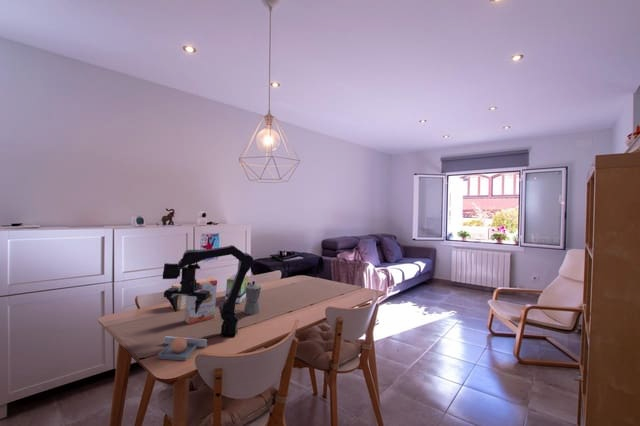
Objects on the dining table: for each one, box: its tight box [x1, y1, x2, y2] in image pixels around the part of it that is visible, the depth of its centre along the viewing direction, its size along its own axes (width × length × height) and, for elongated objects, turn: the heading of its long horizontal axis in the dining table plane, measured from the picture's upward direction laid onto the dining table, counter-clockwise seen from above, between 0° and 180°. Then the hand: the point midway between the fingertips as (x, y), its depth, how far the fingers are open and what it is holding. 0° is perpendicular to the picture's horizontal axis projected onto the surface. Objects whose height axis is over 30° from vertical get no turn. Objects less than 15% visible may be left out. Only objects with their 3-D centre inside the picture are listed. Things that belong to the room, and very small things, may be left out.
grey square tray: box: [157, 342, 198, 361], centre depth 122 cm, size 11×11×2 cm
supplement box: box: [169, 283, 186, 311], centre depth 169 cm, size 8×5×13 cm, turn 69°
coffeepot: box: [243, 281, 262, 315], centre depth 172 cm, size 15×9×18 cm, turn 33°
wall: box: [164, 335, 208, 348], centre depth 128 cm, size 18×1×3 cm, turn 90°
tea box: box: [224, 273, 249, 304], centre depth 191 cm, size 15×10×15 cm
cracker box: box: [183, 277, 218, 325], centre depth 155 cm, size 14×6×21 cm, turn 138°
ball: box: [171, 336, 187, 353], centre depth 122 cm, size 6×6×6 cm
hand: (186, 312), depth 133 cm, fingers open, 9 cm apart
